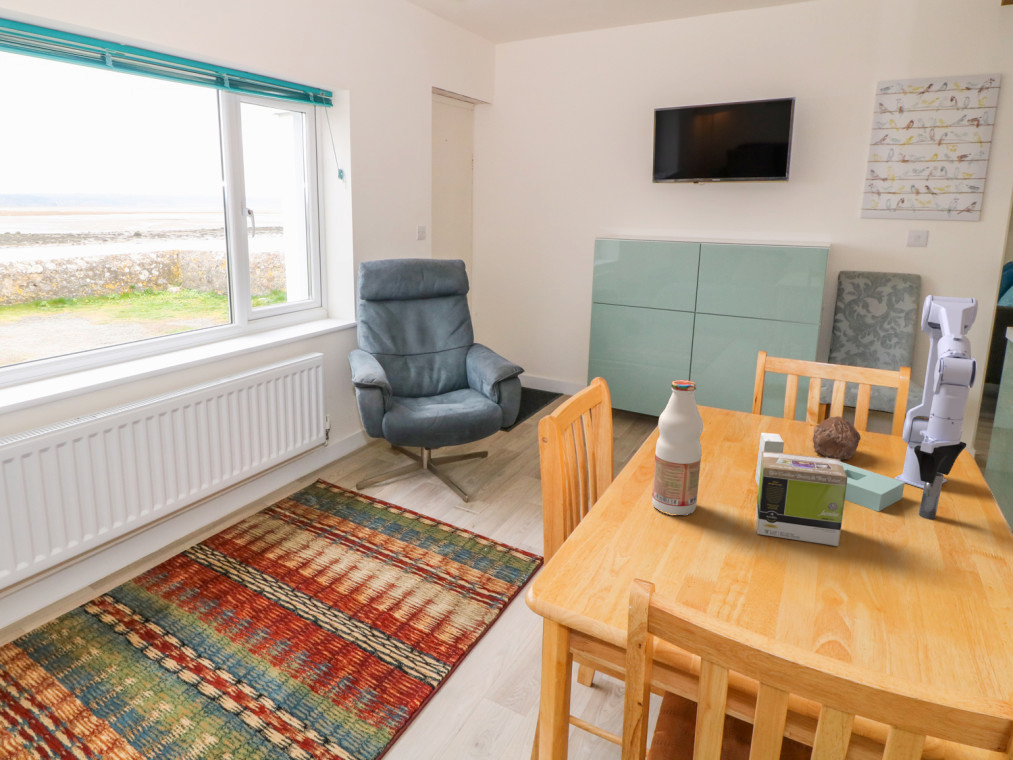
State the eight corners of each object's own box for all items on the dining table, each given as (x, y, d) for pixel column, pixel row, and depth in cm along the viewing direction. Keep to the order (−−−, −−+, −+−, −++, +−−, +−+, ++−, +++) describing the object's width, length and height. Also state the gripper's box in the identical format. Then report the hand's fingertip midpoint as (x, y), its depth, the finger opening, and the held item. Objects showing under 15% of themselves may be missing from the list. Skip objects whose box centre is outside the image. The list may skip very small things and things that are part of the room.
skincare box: (778, 491, 151) (784, 442, 148) (758, 489, 152) (764, 440, 149) (773, 480, 157) (779, 433, 153) (754, 479, 157) (760, 432, 154)
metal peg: (922, 511, 142) (930, 470, 139) (937, 516, 139) (946, 475, 137) (916, 515, 140) (924, 473, 138) (931, 520, 138) (940, 478, 135)
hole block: (824, 472, 162) (826, 457, 161) (901, 498, 148) (904, 482, 147) (799, 483, 155) (802, 467, 154) (878, 511, 141) (881, 494, 140)
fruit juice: (657, 517, 138) (667, 389, 130) (646, 497, 147) (655, 376, 140) (701, 517, 138) (714, 389, 131) (688, 497, 147) (699, 376, 140)
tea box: (832, 525, 135) (842, 458, 131) (838, 548, 126) (849, 477, 122) (754, 513, 140) (762, 448, 136) (755, 535, 131) (763, 466, 127)
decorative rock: (815, 443, 182) (820, 408, 179) (860, 452, 175) (866, 416, 173) (804, 457, 171) (809, 421, 169) (852, 467, 165) (858, 430, 162)
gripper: (940, 404, 141) (928, 463, 145) (909, 416, 133) (898, 479, 136) (977, 413, 136) (965, 474, 139) (948, 426, 127) (935, 490, 131)
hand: (934, 477), depth 137 cm, fingers open, 7 cm apart
